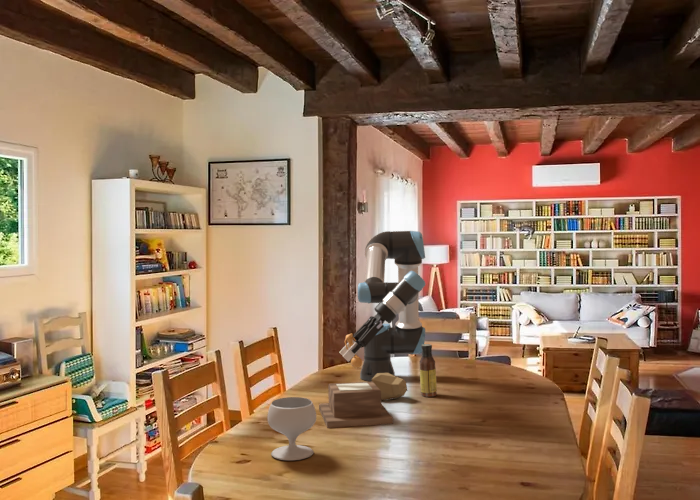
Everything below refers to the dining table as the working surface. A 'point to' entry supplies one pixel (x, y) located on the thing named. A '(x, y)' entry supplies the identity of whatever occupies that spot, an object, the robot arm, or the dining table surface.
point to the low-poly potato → (390, 385)
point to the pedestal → (354, 405)
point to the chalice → (291, 425)
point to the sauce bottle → (427, 372)
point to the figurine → (356, 360)
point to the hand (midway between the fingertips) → (343, 356)
